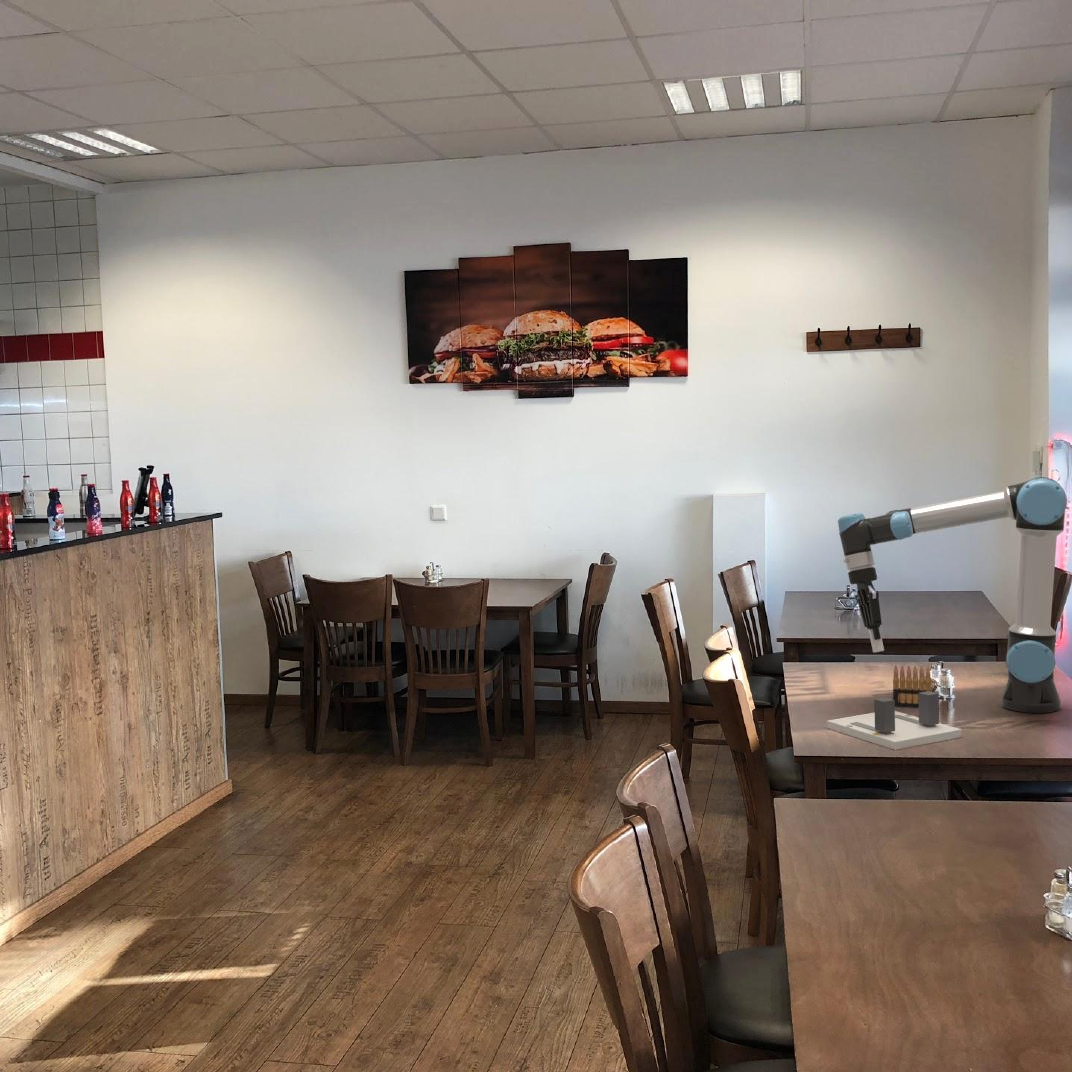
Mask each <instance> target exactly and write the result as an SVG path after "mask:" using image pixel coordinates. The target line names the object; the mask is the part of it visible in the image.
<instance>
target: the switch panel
mask: <svg viewBox="0 0 1072 1072" xmlns="http://www.w3.org/2000/svg"><path fill="white" fill-rule="evenodd" d="M826 729H828V730H832V731H835V732H839V733H840V734H841V733H842V734H844V735H848V736H849V737H854V738H856V739H860V740H863V741H866V742H868V743H873V744H875V745H879V746H881V747H885V748H887V749H891V750H894V751H896V750H901V749H907V748H912V747H918V746H922V745H923V746H924V745H928V744H933V743H938V742H943V741H949V740H955V739H958V738H962V737H963V730H962V728H958V727H954V726H951V725H949V724H948V725H947V724H944V723H941V722H939V724H936V725H930V726H928V725H924V724H921V723H919V716H914V715H911V714H910V713H909V714H908V713H903V712H901V711H897V710H895V731H892V732H887V733H883V732H880V731H876V730H875V711H874V712H870V713H865V714H859V715H853V716H847V717H841V718H836V719H835V718H834V719H829V720H826Z"/></svg>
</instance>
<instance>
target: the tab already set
mask: <svg viewBox="0 0 1072 1072" xmlns="http://www.w3.org/2000/svg"><path fill="white" fill-rule="evenodd" d="M873 703H874V706H873V707H874V712H875V730H876V731H880V732H883V733H887V732H892V731H895V711H896V710H895V709H896V707H895V700H893V698H887V697H881V698H875V699H874V701H873Z"/></svg>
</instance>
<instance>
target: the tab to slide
mask: <svg viewBox="0 0 1072 1072" xmlns="http://www.w3.org/2000/svg"><path fill="white" fill-rule="evenodd" d="M918 698H919V708H918V717H919V723H921V724H924V725H928V726H930V725H936V724H939V723H940V702H939V701H940V700H939V699H940V697H939V693H938V692H935V691H932V692H930V691H926V692H920V693H918Z"/></svg>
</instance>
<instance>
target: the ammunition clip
mask: <svg viewBox="0 0 1072 1072" xmlns="http://www.w3.org/2000/svg"><path fill="white" fill-rule="evenodd" d="M898 670H899V669H898V666H897V664H895V665H894V668H893V680H892V700H895V708H910V709H911V708H913V709H914V708H915V709H919V698H918V693H920V692H926V691H930V692H933V691H932V678H931V670H930V666H929V665H927V667H926V670H925V671H924V668H923V665H921V666H920V668H919V677H918V669H917V665H914V667H913V671H911V667H910V665H908V666H907V668H906V675H905V668H904V665H901V666H900V671H898ZM899 672H900V673H899Z"/></svg>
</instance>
